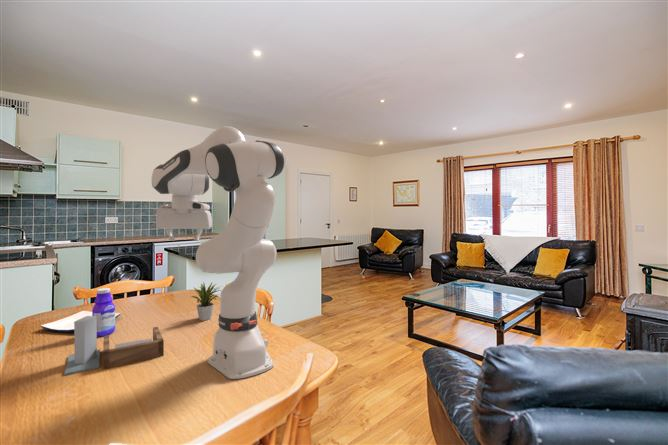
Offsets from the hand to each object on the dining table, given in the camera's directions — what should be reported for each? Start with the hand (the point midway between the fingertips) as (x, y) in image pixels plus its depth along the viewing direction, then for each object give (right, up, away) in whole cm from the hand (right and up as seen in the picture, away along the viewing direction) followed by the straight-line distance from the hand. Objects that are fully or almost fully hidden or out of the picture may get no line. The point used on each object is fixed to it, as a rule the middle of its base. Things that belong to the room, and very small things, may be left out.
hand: (184, 240), depth 121 cm
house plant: (+1, -36, +17) cm, 40 cm away
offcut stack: (-7, -37, -19) cm, 42 cm away
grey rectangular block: (-20, -36, -23) cm, 47 cm away
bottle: (-30, -36, -1) cm, 47 cm away
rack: (-10, -37, -16) cm, 41 cm away
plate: (-46, -36, +9) cm, 59 cm away
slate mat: (-20, -37, -23) cm, 48 cm away
